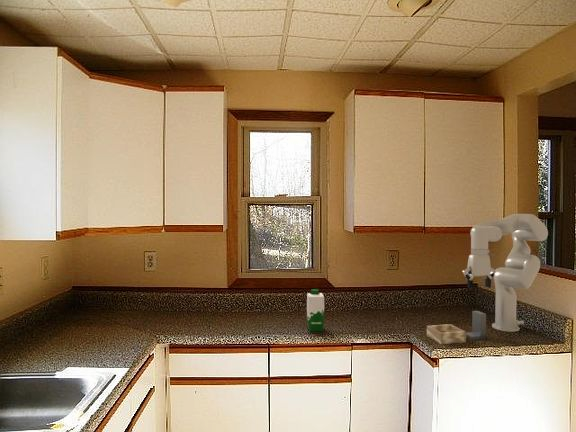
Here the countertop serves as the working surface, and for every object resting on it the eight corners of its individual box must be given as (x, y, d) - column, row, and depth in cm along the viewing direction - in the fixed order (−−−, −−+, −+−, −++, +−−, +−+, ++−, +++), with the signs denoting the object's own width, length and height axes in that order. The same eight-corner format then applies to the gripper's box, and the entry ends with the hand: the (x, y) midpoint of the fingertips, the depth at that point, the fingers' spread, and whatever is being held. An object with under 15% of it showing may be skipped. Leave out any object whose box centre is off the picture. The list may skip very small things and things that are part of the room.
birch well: (450, 334, 198) (450, 324, 198) (465, 342, 186) (466, 331, 186) (426, 335, 195) (426, 325, 195) (440, 344, 184) (440, 333, 184)
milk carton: (322, 326, 211) (322, 288, 211) (325, 331, 202) (325, 292, 202) (306, 326, 210) (306, 289, 210) (308, 332, 201) (308, 292, 201)
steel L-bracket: (477, 334, 197) (477, 310, 197) (485, 338, 191) (486, 313, 191) (463, 335, 196) (463, 311, 195) (471, 339, 190) (471, 314, 189)
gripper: (489, 251, 198) (489, 285, 199) (458, 252, 195) (458, 286, 195) (500, 252, 191) (500, 288, 191) (468, 253, 187) (468, 290, 188)
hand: (479, 287), depth 193 cm, fingers open, 9 cm apart
